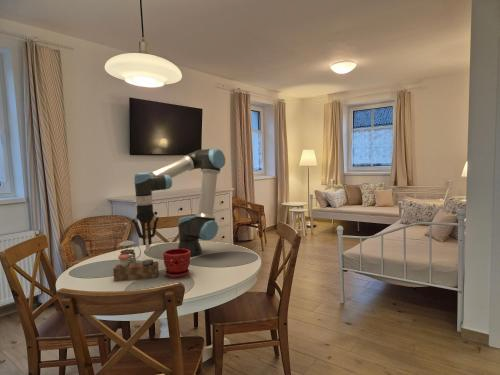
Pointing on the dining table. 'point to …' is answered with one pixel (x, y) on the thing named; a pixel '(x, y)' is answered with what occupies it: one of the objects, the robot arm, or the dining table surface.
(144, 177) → the robot arm
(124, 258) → the red plug
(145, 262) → the charcoal plug
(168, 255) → the plant pot
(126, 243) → the french press
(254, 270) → the dining table surface
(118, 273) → the socket block
